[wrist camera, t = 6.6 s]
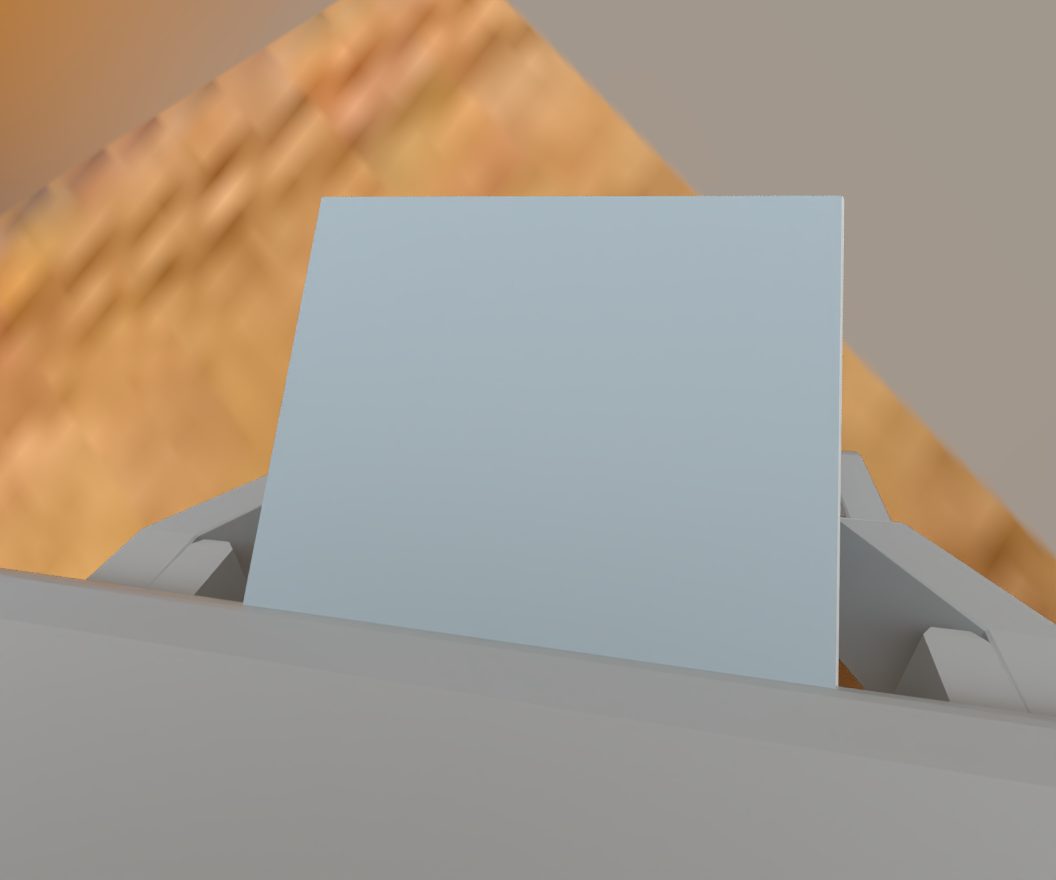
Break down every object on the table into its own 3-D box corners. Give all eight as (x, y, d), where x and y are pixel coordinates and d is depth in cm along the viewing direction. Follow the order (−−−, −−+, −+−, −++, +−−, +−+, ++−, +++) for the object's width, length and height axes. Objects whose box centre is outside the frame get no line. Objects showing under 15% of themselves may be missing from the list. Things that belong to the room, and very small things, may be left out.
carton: (696, 646, 14) (841, 827, 4) (485, 618, 15) (216, 712, 5) (708, 433, 15) (847, 189, 5) (509, 420, 16) (318, 193, 6)
